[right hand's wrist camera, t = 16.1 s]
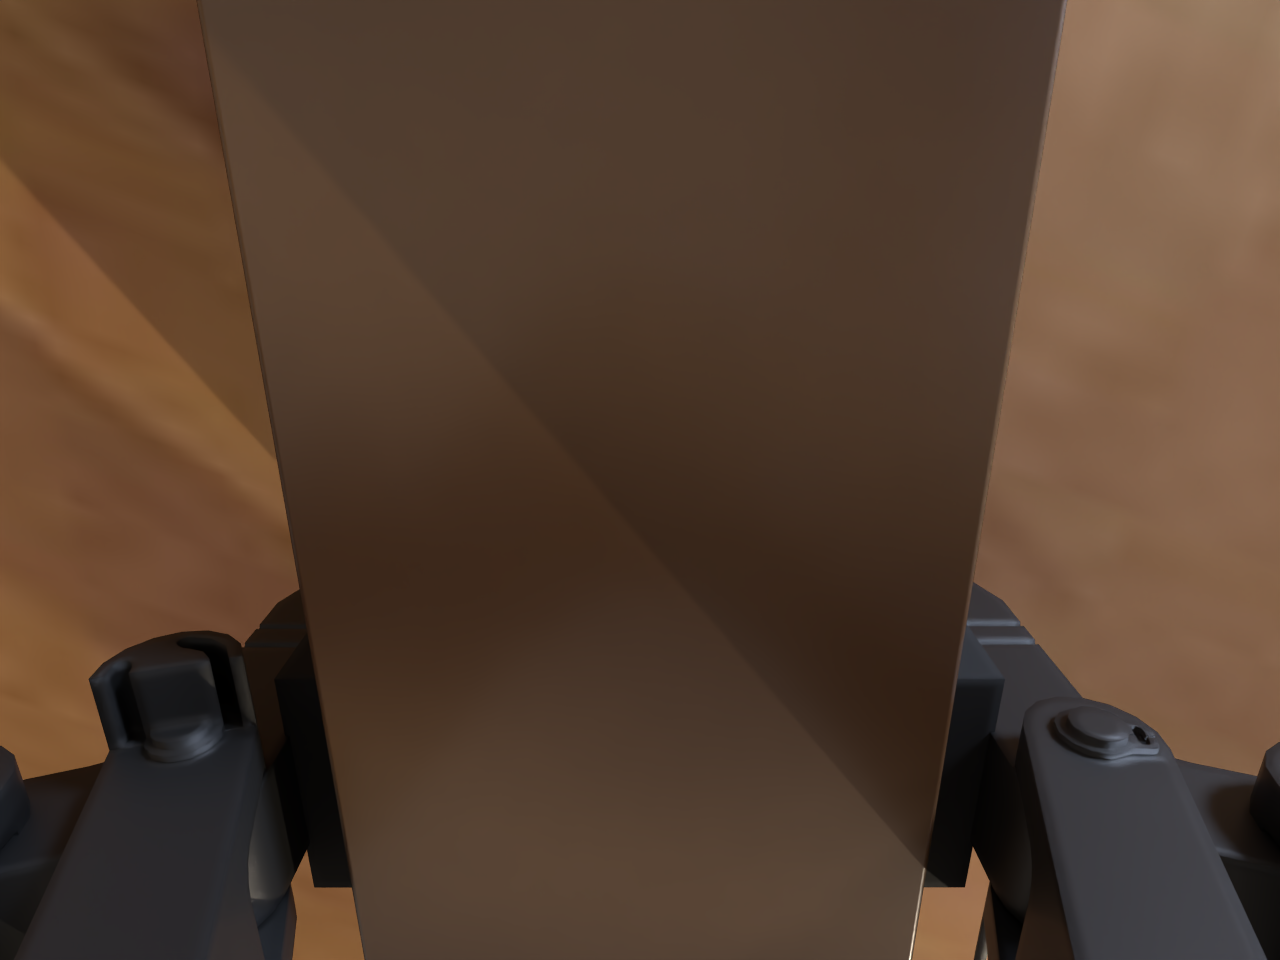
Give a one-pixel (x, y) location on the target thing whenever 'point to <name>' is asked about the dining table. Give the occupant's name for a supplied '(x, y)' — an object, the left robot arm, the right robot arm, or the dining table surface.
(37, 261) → the dining table surface
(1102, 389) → the dining table surface
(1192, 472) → the dining table surface
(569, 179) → the bar
